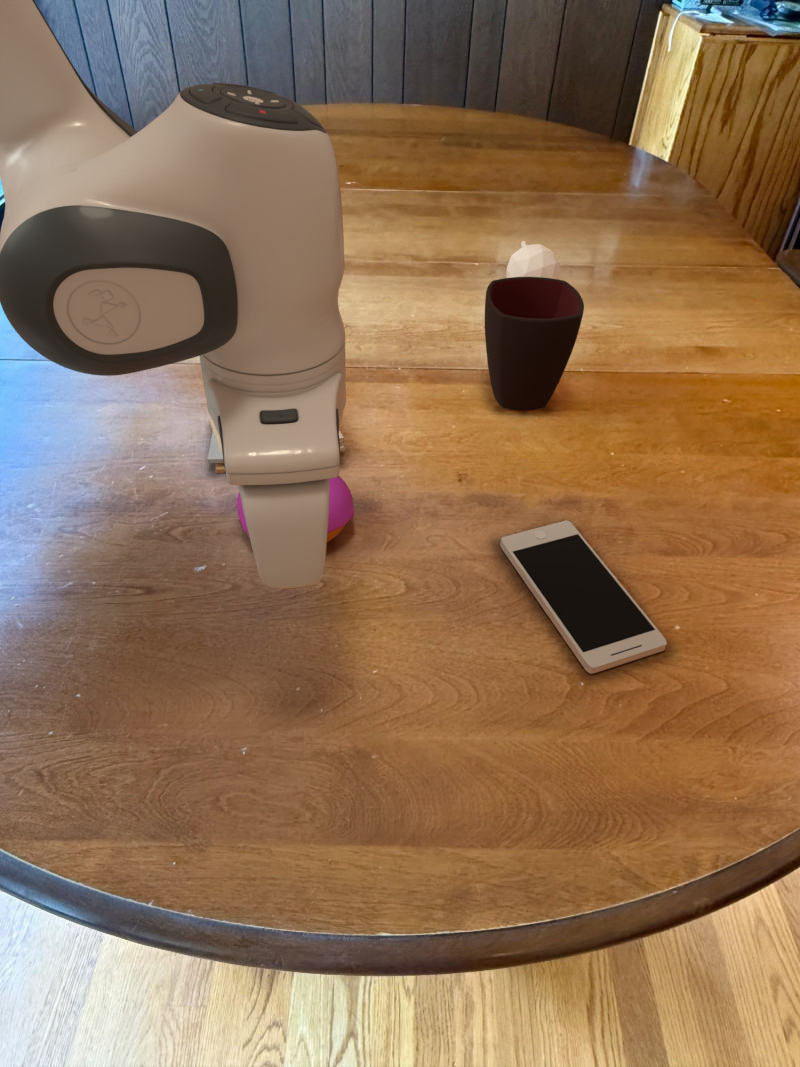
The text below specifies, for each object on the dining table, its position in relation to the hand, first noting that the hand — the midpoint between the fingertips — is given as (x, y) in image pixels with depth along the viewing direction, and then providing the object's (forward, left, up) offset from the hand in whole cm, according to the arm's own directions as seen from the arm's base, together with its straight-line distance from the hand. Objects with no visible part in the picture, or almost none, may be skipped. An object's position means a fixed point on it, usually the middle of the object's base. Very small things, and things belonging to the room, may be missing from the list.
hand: (288, 540), depth 58 cm
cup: (+28, +30, -8) cm, 42 cm away
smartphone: (+24, -2, -8) cm, 25 cm away
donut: (+1, +11, -8) cm, 14 cm away
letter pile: (0, +23, -8) cm, 25 cm away
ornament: (+36, +52, -8) cm, 64 cm away
